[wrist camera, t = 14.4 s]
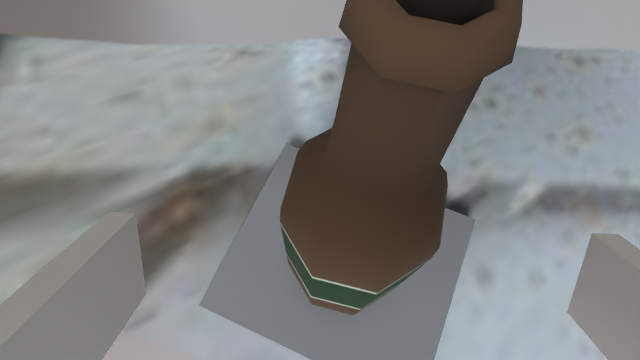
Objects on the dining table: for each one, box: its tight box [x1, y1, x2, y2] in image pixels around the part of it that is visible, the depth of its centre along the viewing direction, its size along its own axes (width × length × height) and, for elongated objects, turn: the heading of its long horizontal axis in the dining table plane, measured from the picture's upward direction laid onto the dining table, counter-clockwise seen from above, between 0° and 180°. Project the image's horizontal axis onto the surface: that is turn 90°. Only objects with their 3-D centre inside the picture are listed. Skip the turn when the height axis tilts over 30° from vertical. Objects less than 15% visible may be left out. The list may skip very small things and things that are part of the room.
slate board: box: [199, 144, 475, 360], centre depth 30 cm, size 16×14×2 cm
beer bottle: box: [280, 0, 523, 315], centre depth 18 cm, size 8×8×24 cm
